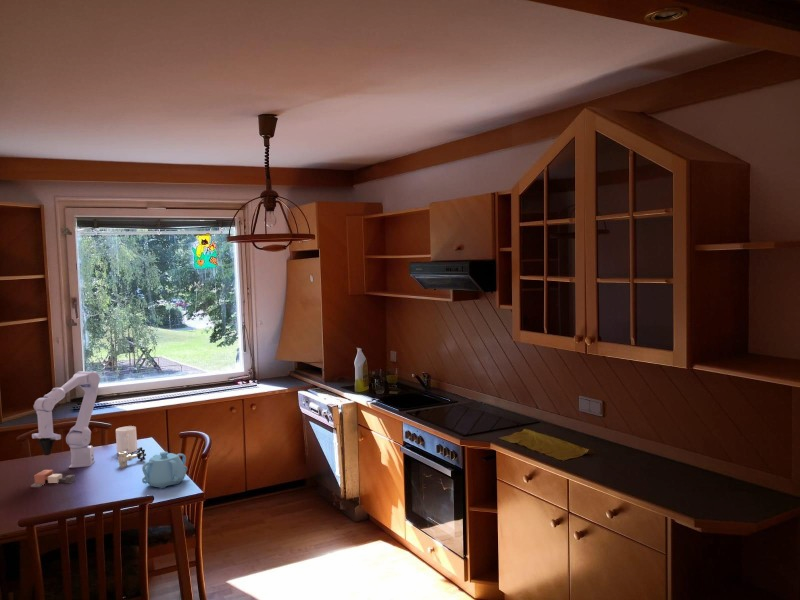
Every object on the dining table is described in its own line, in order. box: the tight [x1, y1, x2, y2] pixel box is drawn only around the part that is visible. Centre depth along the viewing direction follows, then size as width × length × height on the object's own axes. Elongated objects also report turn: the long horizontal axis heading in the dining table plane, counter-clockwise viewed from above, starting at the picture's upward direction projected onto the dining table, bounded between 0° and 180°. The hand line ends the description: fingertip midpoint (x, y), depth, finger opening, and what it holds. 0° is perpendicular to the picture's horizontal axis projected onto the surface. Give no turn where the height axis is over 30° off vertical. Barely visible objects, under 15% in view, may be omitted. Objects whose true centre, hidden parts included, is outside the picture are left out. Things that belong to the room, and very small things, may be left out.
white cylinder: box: [115, 425, 138, 455], centre depth 330 cm, size 10×12×12 cm
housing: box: [30, 469, 54, 488], centre depth 289 cm, size 4×13×4 cm, turn 175°
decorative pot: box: [141, 451, 188, 489], centre depth 280 cm, size 16×16×14 cm
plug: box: [47, 473, 76, 484], centre depth 288 cm, size 10×4×3 cm, turn 85°
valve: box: [117, 446, 147, 468], centre depth 311 cm, size 7×7×12 cm
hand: (47, 454), depth 296 cm, fingers closed
